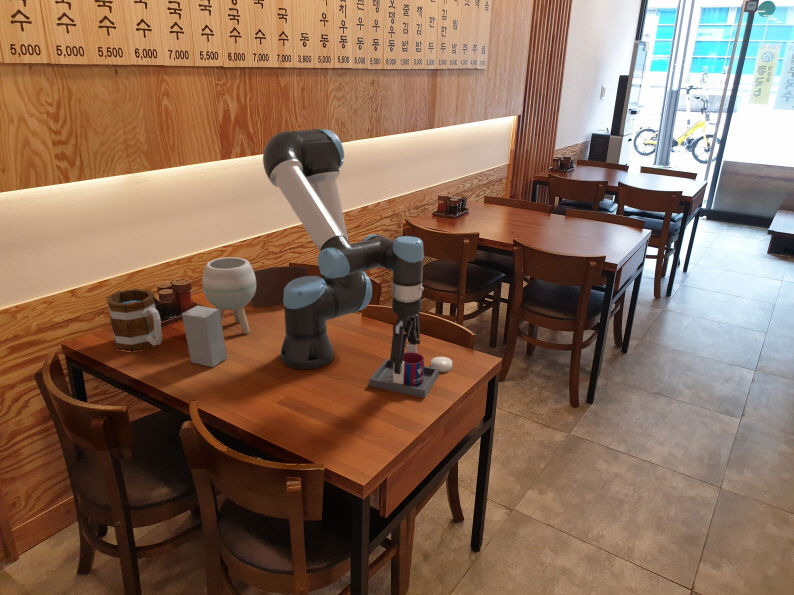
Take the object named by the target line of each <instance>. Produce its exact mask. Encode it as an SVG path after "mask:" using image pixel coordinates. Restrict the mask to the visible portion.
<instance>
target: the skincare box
mask: <svg viewBox="0 0 794 595" xmlns="http://www.w3.org/2000/svg"><path fill="white" fill-rule="evenodd" d="M181 317H182V321H183V327H184V332H185V338H186V343H187V347H188V353H189V357H190V362H191V363H192V364H197V365H201V366H206V367H210V368H215V367H216V366H218V365H219V364H221V363H222V362H223V361H225V360H227V358H228V355H227V354H228V353H227V349H226V348H227V347H226V343H225V336H224V331H223V325H222V323H221V318H220V313H219V309H216V308H212V307H208V306H207V307H206V306H202V305H196V306H194V307H192V308H190V309H188V310H186V311H184V312H183V313H181Z"/></svg>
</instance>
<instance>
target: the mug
mask: <svg viewBox="0 0 794 595" xmlns="http://www.w3.org/2000/svg"><path fill="white" fill-rule="evenodd" d="M105 299H106V302H107V305H108V310H109V321H110V325H111V326H110V327H111V329H112V334H113V345H114V344H115V345H114V347H115V346H116V348H115V350H116V349H118V350H125V351H131V352H133V351H138V352H141V351H140V350H142V351H145V350H144V349H147V350H151V349H152V348H154V347H155V346H158V345H161V344H162V340H163V333H162V325H161V323H162V322H161V317H160V313H159V311H158V309H157V308H156V305H155V304H156V302H155V294H154V293H153V291H152V290H151V289H143V288H130V289H125V290H120V291H116V292H114V293H112V294H110V295H108V296H106V298H105ZM153 346H154V347H153ZM150 348H151V349H150ZM131 352H130V353H131ZM133 353H134V352H133Z"/></svg>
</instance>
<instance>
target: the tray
mask: <svg viewBox="0 0 794 595" xmlns="http://www.w3.org/2000/svg"><path fill="white" fill-rule="evenodd" d="M439 377H440V372H439V369H438V368H433V367H431V366H428V365H424V376H423V383H422V384H420V385H418V386H409V385H404V384H399V383H394V382H393V363H391V362H390V358H386V359H385V360H384V361H383V362H382V363H381V364H380V366H379V367H378V368H377V369H376V370H375V372H374V373H373V374H372V375H371V376H370V377H369V379H368V380H369V381H368V386H369V387H371V388H376V389H381V390H385V391H390V392H395V393H400V394H403V395H409V396H414V397H419V398H423V399H425V398H426V397H427V395H428V394H429V392H430V390H431V389H432V387H433V386H434V384H435V382H436V381H437V379H438V378H439Z"/></svg>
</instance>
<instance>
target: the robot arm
mask: <svg viewBox="0 0 794 595" xmlns="http://www.w3.org/2000/svg"><path fill="white" fill-rule="evenodd" d="M344 149H345V148H344V146H343V144H342V141H341V139H340V138H339V137H338V135H337V134H336V133H334V132H333V131H332V130H330V129H325V128H324V129H320V128H314V129H303V130H285V131H284V130H283V131H279V132H278V133H276V134H274V135H273V136H272V137H271V138H270V139H269V140H268V141H267V143H266V144H265V147H264V149H263V155H262V164H263V169H264V172H265V174H266V176H267V178H268V179H269V182H270V183H271V184H272V185H273V186H274V187H276V188H279V190H280V191H281V193H282V195H283V196H284V198H285V200H286V201H287V202H288V204H289V206H290V207H291V209H292V211H293V212H294V213H295V215H296V216H297V218H298V219H299V221H300V222H301V224H302V226H303V228H304V229H305V231H306V232H307V234H308V235H309V236H310V238H311V240H312V241H313V243H314V245H315V247H317V249H318V251H319V253H318V256H317V265H318V268H319V271H320V276H317V275H308V277H307V276H304V277H300V278H297V279H294V280H292V281H291V282H289V283H288V284H287V285H286V287H285V289H284V299H283V304H282V305H283V309H284V327H285V328H284V330H285V335H284V338H283V341H282V345H281V349H280V361H281V362H282V364H283V365H285V366H286V367H289V368H291V369H298V370H313V369H318V368H321V367H324V366H326V365H329V363H330V362H331V361H333V359H334V348H333V345H332V342H331V339H330V337H329V334H328V332H327V321H329V320H332V319H336V318H340V317H343V316H347V315H349V314H356V313H357V312H359V311H363V310H364V309H366V308H367V307H368V305H369V304H370V302H371V301H372V300H371V299H372V296H373V286H372V282H371V279H370V277H368V274H367V273H366V271H370V270H374V269H379V268H384V269H386V270H388V271H392V291H391V292H392V294H391V295H392V298H391V299H392V300H391V301H392V302H391V303H392V304H391V305H392V306H391V308H392V312H393V313H394V314H395V315H397V316H398V317H397V319H396V324H393V326H392V338H391V339H392V340H391V348H390V358H389V359H390V362H391V363H393V382H394V383H399V384H403V383H404V361H403V357H404V353H409V352H413V353H418V345H421V339H420V338H421V330H420V317H419V316H420V313H421V312H422V301H423V300H422V298H421V297H422V294H423V291H424V290H425V288H424V286H423V272H424V258H425V254H424V242H423V240H422V239H421V238H419V237H417V236H410V235H409V236H408V235H405V236H404V235H402V236H398V237H396V238H395V239H394V240H393V239H391V238H388V237H387V236H383V235H379V234H373V233H372V234H369V235H367V236H366V237H365V238H363V239H362V240H361V241H357V242H352V243H350V241H349V236H348V232H347V227H346V226H347V225H346V223H345V218H344V217H345V216H344V213H343V207H342V203H341V199H340V193H339V189H338V184H337V178H338V177H339V175H340V168H341V167H342V166H343V164H344V159H345V150H344ZM407 342H408V343H407ZM405 349H406V352H405Z"/></svg>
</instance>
